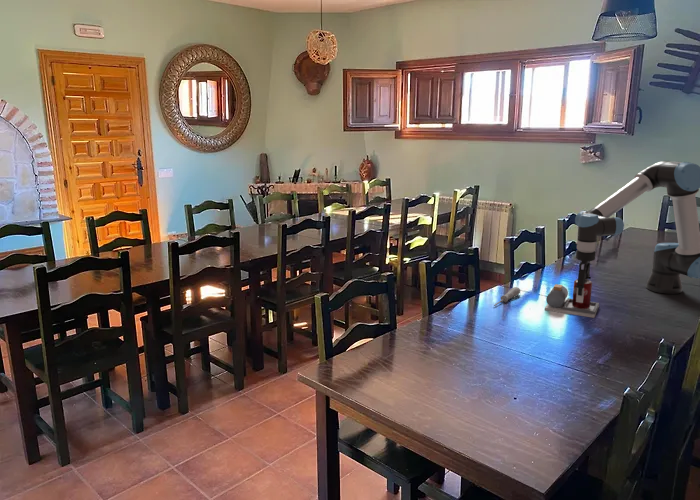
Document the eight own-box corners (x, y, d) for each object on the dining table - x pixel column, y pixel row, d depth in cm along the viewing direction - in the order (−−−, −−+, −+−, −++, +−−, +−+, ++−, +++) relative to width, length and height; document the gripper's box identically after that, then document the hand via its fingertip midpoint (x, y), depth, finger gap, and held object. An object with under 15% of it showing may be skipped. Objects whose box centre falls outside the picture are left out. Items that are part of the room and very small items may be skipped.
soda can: (582, 311, 223) (584, 284, 220) (568, 306, 229) (570, 280, 226) (593, 308, 226) (596, 281, 223) (579, 303, 233) (581, 277, 230)
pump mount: (598, 306, 231) (601, 286, 229) (594, 317, 218) (596, 296, 216) (551, 299, 241) (553, 280, 239) (544, 309, 228) (546, 289, 226)
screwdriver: (489, 310, 234) (488, 301, 233) (513, 293, 252) (512, 285, 251) (499, 310, 231) (497, 301, 230) (523, 293, 248) (521, 285, 248)
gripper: (581, 243, 234) (577, 288, 239) (571, 256, 213) (567, 304, 218) (599, 245, 230) (595, 290, 235) (591, 258, 209) (587, 307, 214)
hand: (581, 297), depth 227 cm, fingers open, 13 cm apart
